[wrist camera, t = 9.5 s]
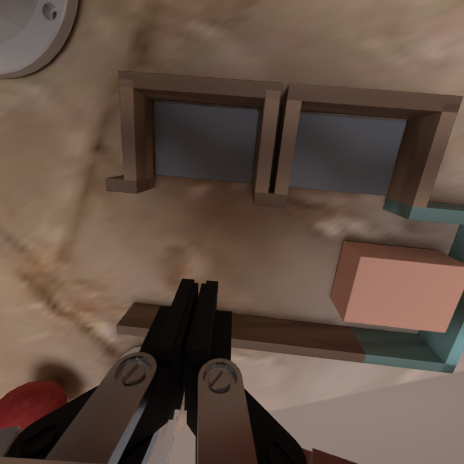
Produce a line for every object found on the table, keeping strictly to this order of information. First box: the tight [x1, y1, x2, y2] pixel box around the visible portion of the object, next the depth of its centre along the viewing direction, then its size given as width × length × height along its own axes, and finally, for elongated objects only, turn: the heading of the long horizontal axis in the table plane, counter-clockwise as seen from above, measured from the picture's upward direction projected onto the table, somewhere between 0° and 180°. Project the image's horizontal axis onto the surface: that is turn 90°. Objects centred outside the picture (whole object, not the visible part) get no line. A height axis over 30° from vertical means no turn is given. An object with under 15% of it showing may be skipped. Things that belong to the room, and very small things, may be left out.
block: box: [330, 241, 464, 333], centre depth 18 cm, size 5×7×3 cm
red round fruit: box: [0, 380, 67, 429], centre depth 22 cm, size 6×6×8 cm
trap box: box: [106, 71, 464, 373], centre depth 17 cm, size 18×26×3 cm
